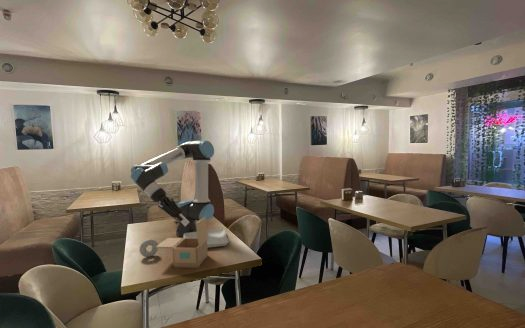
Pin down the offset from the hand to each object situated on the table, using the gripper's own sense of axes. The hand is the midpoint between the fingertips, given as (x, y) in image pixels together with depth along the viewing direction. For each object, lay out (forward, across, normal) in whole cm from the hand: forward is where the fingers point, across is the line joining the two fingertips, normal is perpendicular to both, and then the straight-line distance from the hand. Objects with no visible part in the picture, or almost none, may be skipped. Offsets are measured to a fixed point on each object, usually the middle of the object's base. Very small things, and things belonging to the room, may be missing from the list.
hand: (187, 224), depth 140 cm
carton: (+12, -1, -17) cm, 21 cm away
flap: (+8, -1, +2) cm, 8 cm away
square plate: (+14, -30, -16) cm, 36 cm away
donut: (-3, -6, -32) cm, 33 cm away
